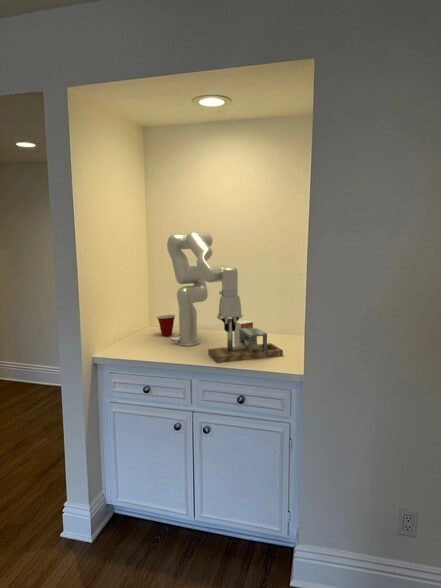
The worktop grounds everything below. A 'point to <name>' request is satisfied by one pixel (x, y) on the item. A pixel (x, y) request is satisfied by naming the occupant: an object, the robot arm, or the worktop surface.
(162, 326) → the plastic cup
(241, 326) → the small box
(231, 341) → the sliding frame
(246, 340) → the maple block
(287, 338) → the worktop surface
